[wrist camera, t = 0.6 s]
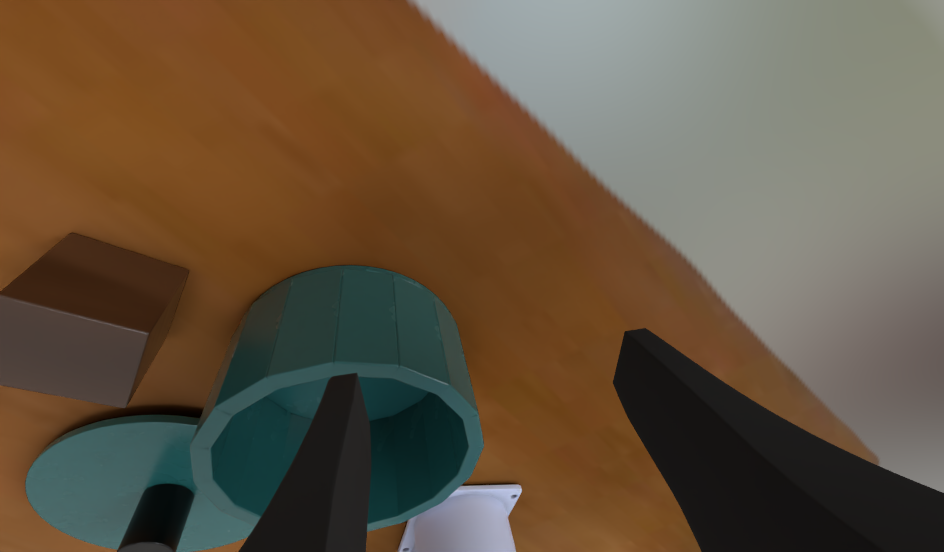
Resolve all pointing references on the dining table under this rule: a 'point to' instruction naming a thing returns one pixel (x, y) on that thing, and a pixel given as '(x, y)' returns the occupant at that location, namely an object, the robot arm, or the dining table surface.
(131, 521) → the lid
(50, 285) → the block
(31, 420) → the dining table surface
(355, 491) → the robot arm
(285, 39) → the dining table surface
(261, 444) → the tin
